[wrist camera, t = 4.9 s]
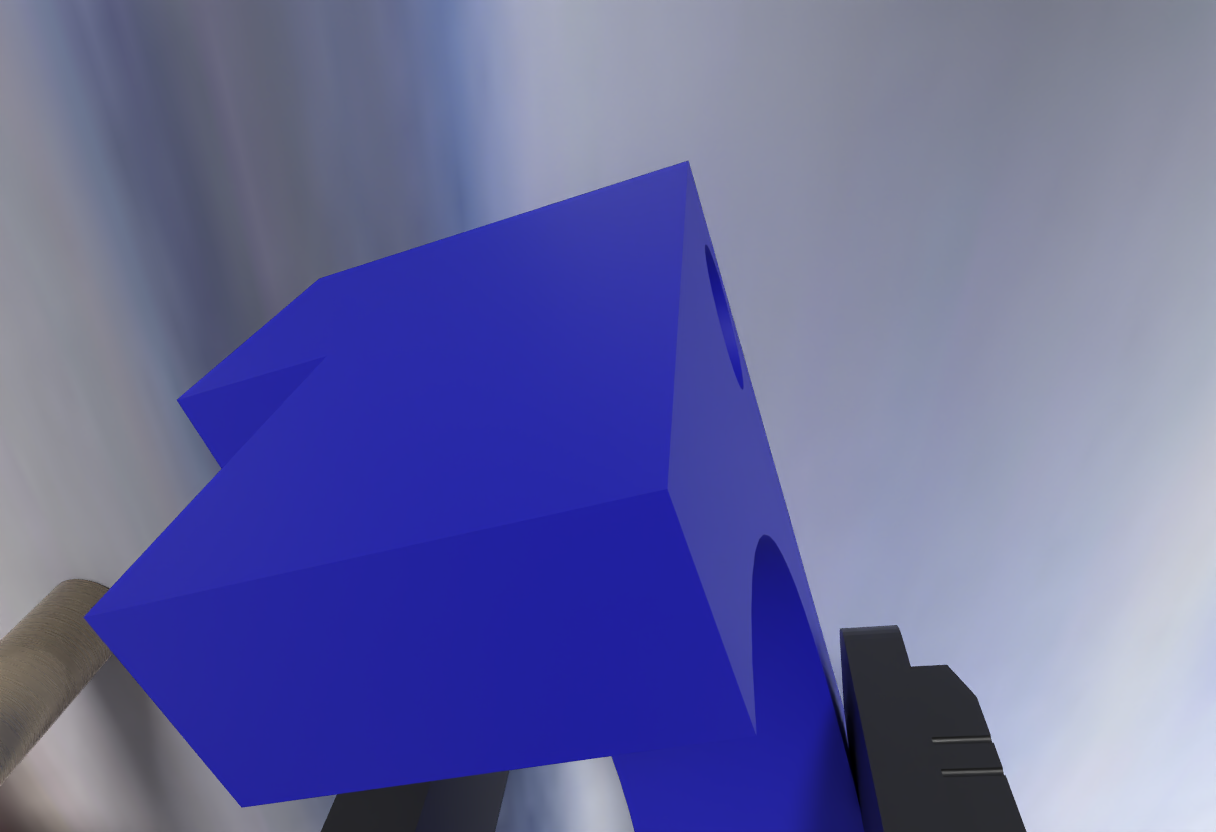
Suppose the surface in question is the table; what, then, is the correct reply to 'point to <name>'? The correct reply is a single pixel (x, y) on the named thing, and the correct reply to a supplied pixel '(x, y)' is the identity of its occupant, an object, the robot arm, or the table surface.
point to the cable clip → (498, 535)
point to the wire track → (46, 667)
